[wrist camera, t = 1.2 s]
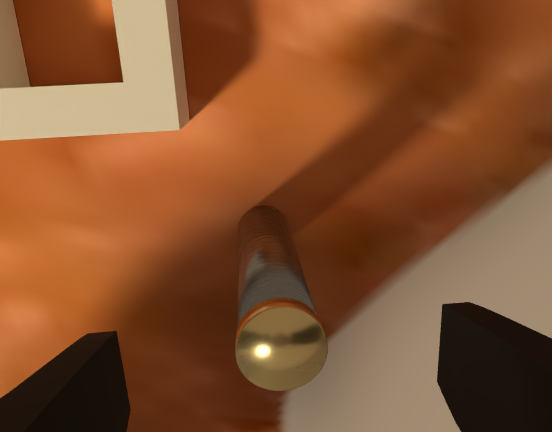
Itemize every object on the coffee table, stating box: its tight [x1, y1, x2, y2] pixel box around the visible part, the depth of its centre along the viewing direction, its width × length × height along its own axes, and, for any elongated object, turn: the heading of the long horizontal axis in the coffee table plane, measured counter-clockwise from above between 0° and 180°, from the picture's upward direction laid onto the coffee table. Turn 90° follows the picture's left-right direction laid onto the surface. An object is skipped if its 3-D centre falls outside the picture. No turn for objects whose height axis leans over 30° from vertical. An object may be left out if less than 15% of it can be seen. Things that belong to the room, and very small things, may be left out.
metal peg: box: [236, 206, 328, 391], centre depth 14 cm, size 2×2×9 cm
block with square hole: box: [0, 0, 190, 140], centre depth 14 cm, size 7×7×3 cm
